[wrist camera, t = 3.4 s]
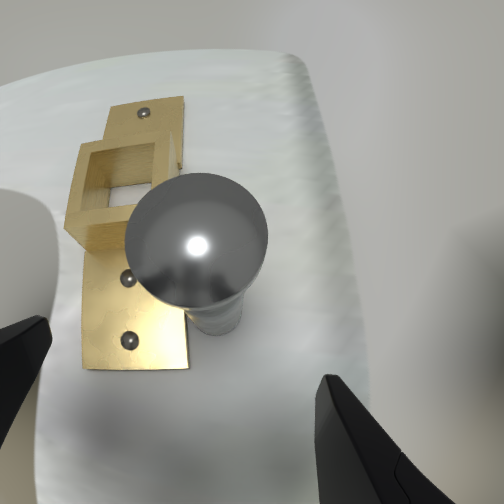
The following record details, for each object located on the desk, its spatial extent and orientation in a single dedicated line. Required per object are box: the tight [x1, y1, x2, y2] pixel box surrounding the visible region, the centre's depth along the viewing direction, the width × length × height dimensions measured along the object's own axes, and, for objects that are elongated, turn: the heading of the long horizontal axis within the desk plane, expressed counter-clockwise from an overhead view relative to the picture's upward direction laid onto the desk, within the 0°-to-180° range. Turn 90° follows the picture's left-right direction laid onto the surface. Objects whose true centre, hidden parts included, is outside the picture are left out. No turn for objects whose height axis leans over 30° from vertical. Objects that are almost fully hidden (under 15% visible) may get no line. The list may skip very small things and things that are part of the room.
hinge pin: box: [125, 173, 268, 336], centre depth 14 cm, size 4×4×12 cm
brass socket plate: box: [64, 96, 190, 370], centre depth 20 cm, size 23×7×4 cm, turn 6°
